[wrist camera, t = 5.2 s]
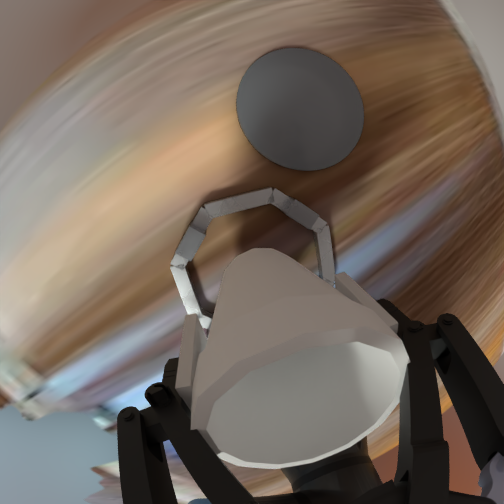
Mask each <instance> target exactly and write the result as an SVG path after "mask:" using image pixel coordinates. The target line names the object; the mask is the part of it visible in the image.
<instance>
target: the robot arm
mask: <svg viewBox="0 0 504 504" xmlns="http://www.w3.org/2000/svg"><path fill="white" fill-rule="evenodd" d="M334 277H335V286H336V289H337V290H338V291H339V292H341V293H342V294H344V295H345V296H346V297H348V298H349V299H350V300H352V301H354V302H357V303H359V304H361V305H363V306H365V307H367V308H370V309H372V310H373V311H374V312H375V313H376V314H377V315H378V316H379V317H380V318H381V319H382V320H383V321H384V322H385V323H386V324H387V325H388V326H389V327H390V328H391V329H392V330H393V331H394V333H395V334H396V335H397V336H398V337H399V338H400V339H401V340H402V342H403V344H404V347H405V349H406V352H407V354H408V357H409V359H410V363H408V364H407V367H406V372H405V377H404V381H403V386H402V390H401V394H400V430H399V452H398V464H397V471H396V474H395V478H394V482H393V480H390V481H388V482H386V483H384V484H383V483H382V481H381V479H380V477H379V475H378V473H377V471H376V469H375V467H374V465H373V463H372V461H371V459H370V457H369V455H368V446H367V436H365V437H364V438H362V439H361V440H360V441H358V442H357V443H355V444H354V445H352V446H351V447H349V448H347V449H345V450H343V451H340V452H338V453H336V454H333V455H331V456H328V457H326V458H323V459H321V460H318V461H316V462H313V463H308V464H303V465H297V466H291V467H285V468H280V469H281V470H282V472H283V473H284V474H285V476H286V477H287V478H288V480H289V481H290V483H291V486H292V489H293V493H288V494H281V495H272V496H262V497H253V496H252V495H251V494H250V493H249V492H248V491H247V490H246V489H245V488H244V486H243V485H242V484H241V483H240V482H239V481H238V480H237V479H236V477H235V476H234V475H233V474H232V473H231V472H230V470H229V469H228V468H227V467H226V466H225V464H224V463H223V462H222V461H221V459H220V458H219V457H218V456H217V454H216V453H215V452H214V451H213V449H212V448H211V447H210V446H209V444H208V443H207V442H206V440H205V439H204V438H203V437H202V435H201V434H200V433H199V431H198V430H197V429H194V430H191V406H192V388H193V382H194V377H195V372H196V367H197V362H198V358H199V354H200V353H201V352H202V351H203V350H204V349H205V348H206V344H207V338H206V335H205V333H204V331H203V328H202V326H201V323H200V321H199V318H198V315H197V313H193V314H189V315H186V316H185V322H184V328H183V334H182V341H181V348H180V355H179V357H178V358H173V359H169V360H168V362H167V363H166V365H165V368H164V374H163V379H162V382H158V383H155V384H152V385H151V386H149V387H148V388H147V390H146V391H145V398H146V399H147V401H148V402H149V404H150V405H151V407H148V408H146V409H143V410H140V411H139V410H138V409H137V408H136V407H132V406H131V407H126V408H124V409H123V410H121V411H120V413H119V414H118V417H117V435H118V456H119V471H120V482H121V490H122V498H123V504H178V502H177V499H176V495H175V492H174V488H173V484H172V480H171V476H170V472H169V468H168V464H167V459H166V454H165V450H164V445H163V441H166V440H170V442H171V443H172V445H173V447H174V448H175V450H176V452H177V454H178V455H179V457H180V459H181V460H182V462H183V463H184V465H185V467H186V468H187V470H188V471H189V473H190V474H191V476H192V477H193V479H194V480H195V482H196V483H197V485H198V486H199V488H200V489H201V490H202V492H203V493H204V495H205V496H206V497H207V499H194V500H192V501H190V502H189V503H188V504H504V384H503V382H502V381H501V379H500V378H499V376H498V374H497V373H496V371H495V370H494V368H493V367H492V365H491V364H490V362H489V361H488V359H487V358H486V356H485V355H484V353H483V352H482V350H481V349H480V347H479V346H478V345H477V343H476V342H475V340H474V339H473V338H472V336H471V335H470V334H469V332H468V331H467V330H466V328H465V327H464V326H463V324H462V323H461V322H460V320H459V319H458V318H457V317H456V316H455V315H453V314H448V313H446V314H442V315H440V316H439V317H438V319H437V323H434V324H430V325H424V324H423V323H422V322H420V321H411V320H410V319H409V318H408V317H407V316H405V315H404V314H403V313H402V312H401V311H400V310H398V308H397V307H395V306H394V305H393V304H392V303H391V302H390V301H388V300H385V299H383V298H382V299H380V300H377V301H375V300H374V299H373V298H372V297H371V296H370V295H369V294H368V293H367V292H366V291H365V290H364V289H362V288H361V287H360V286H359V285H358V284H357V283H356V282H355V281H354V280H353V279H352V278H351V277H349V276H348V275H347V274H346V273H345V272H342V273H339V274H336V275H334ZM434 366H435V367H434ZM435 368H436V370H437V372H438V374H439V376H440V378H441V380H442V382H443V384H444V386H445V388H446V390H447V392H448V395H449V397H450V399H451V401H452V403H453V406H454V408H455V410H456V412H457V415H458V417H459V419H460V422H461V424H462V427H463V429H464V432H465V434H466V437H467V439H468V442H469V445H470V448H471V451H472V453H473V456H474V458H475V461H476V463H477V465H478V467H479V468H480V470H481V473H480V477H479V482H478V484H479V486H480V487H482V494H481V496H475V495H469V494H464V493H459V492H454V491H450V490H449V446H448V442H447V441H445V440H444V438H443V426H442V415H441V406H440V398H439V391H438V384H437V378H436V372H435Z"/></svg>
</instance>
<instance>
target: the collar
mask: <svg viewBox="0 0 504 504" xmlns="http://www.w3.org/2000/svg"><path fill="white" fill-rule="evenodd" d="M270 203H271V204H273V205H274V206H276V207H278V208H279V210H280V211H282V212H283V213H284V214H286V215H287V216H289V217H290V218H292V219H294V220H295V221H297V222H298V223H300V224H301V225H303V226H304V227H306V228H308V229H309V230H311V229H312V230H313V234H314V240H315V247H316V253H317V260H318V267H319V274H320V278H321V279H322V280H324V281H325V282H327V283H328V284H329V285H331V286H332V287H333V286H334V284H335V283H334V281H335V277H334V275H335V269H334V260H333V252H332V244H331V237H330V230H329V225H327V222H325V221H324V220H323V219H321V218H320V217H319V216H320V215H318V214H317V213H315V212H314V211H313V210H311V209H310V208H308V207H307V206H305V205H304V204H302V203H301V202H299V201H298V200H296V199H294V198H292V197H290V196H287V195H285V194H283V193H282V192H280V191H279V190H277V189H276V188H271V187H265V188H261V189H257V190H253V191H249V192H245V193H241V194H237V195H233V196H229V197H225V198H221V199H218V200H214V201H210V202H206V203H205V204H204V205H205V206H203V205H202V206H201V208H200V210H199V211H198V213H197V215H196V217H195V218H194V220H192V221H191V223H190V225H189V227H188V229H187V230H186V232H185V234H184V236H183V238H182V240H181V241H180V243H179V245H178V248H177V250H176V252H175V255H174V257H173V259H172V261H171V266H170V268H171V271H172V274H173V276H174V279H175V282H176V285H177V287H178V290H179V292H180V295H181V298H182V300H183V303H184V305H185V308H186V310H187V313H188V315H189V314H193V313H197V315H198V318H199V321H200V323H201V326H202V327H204V328H206V329H207V336H206V337H207V338H208V336H209V331H210V327H211V323H212V319H213V315H214V313H213V314H212V313H210V312H208V311H206V310H204V309H202V307H201V304H200V302H199V299H198V296H197V293H196V290H195V288H194V285H193V282H192V279H191V276H190V273H189V270H188V267H187V265H186V264H187V262H188V260H189V261H192V259H193V257H194V255H195V253H196V252H197V250H198V248H199V246H200V245H201V243H202V241H203V239H204V238H205V236H206V230H207V227H208V225H209V223H210V222H211V220H212V218H215V217H219V216H223V215H226V214H230V213H234V212H238V211H242V210H246V209H250V208H254V207H258V206H262V205H266V204H270Z"/></svg>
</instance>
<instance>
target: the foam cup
mask: <svg viewBox="0 0 504 504" xmlns="http://www.w3.org/2000/svg"><path fill="white" fill-rule="evenodd" d="M408 363H410V359H409V357H408V354H407V352H406V349H405V347H404V344H403V342H402V340H401V339H400V338H399V337H398V336H397V335H396V334H395V333H394V331H393V330H392V329H391V328H390V327H389V326H388V325H387V324H386V323H385V322H384V321H383V320H382V319H381V318H380V317H379V316H378V315H377V314H376V313H375V312H374V311H373V310H372V309H370V308H367V307H365V306H363V305H361V304H359V303H357V302H354V301H352V300H350V299H349V298H348V297H346V296H345V295H344V294H342V293H341V292H339V291H338V290H337V289H335V288H334V287H332V286H331V285H329V284H328V283H327V282H325V281H324V280H322V279H321V278H320V277H318V276H317V275H315V274H314V273H313V272H311V271H310V270H308V269H307V268H305V267H304V266H303V265H301V264H300V263H298V262H297V261H295V260H294V259H293V258H291V257H289V256H288V255H286V254H284V253H282V252H279V251H277V250H275V249H273V248H253V249H251V250H249V251H247V252H244V253H242V254H240V255H238V256H236V257H235V258H234V260H233V261H232V262H231V263H230V264H229V266H228V267H227V268H226V269H225V271H224V274H223V278H222V282H221V286H220V290H219V294H218V298H217V302H216V306H215V310H214V315H213V319H212V323H211V327H210V331H209V336H208V340H207V344H206V348H205V349H204V350H203V351H202V352H201V353H200V354H199V358H198V362H197V367H196V372H195V377H194V382H193V388H192V406H191V430H194V429H197V430H198V431H199V433H200V434H201V435H202V437H203V438H204V439H205V440H206V442H207V443H208V444H209V446H210V447H211V448H212V449H213V451H214V452H215V453H216V454H217V456H218V457H219V458H220V459H222V460H225V461H227V462H229V463H232V464H234V465H237V466H243V467H253V468H266V469H278V468H285V467H291V466H297V465H303V464H308V463H313V462H316V461H318V460H321V459H323V458H326V457H328V456H331V455H333V454H336V453H338V452H340V451H343V450H345V449H347V448H349V447H351V446H352V445H354V444H355V443H357V442H358V441H360V440H361V439H362V438H364V437H365V436H367V435H368V434H369V433H371V432H372V431H373V430H375V429H376V428H377V427H379V426H380V425H381V424H382V423H383V422H384V421H385V420H386V418H387V417H388V416H389V415H390V413H391V412H392V411H393V410H394V408H395V407H396V406H397V404H398V403H399V402H400V394H401V390H402V386H403V381H404V377H405V372H406V367H407V364H408Z"/></svg>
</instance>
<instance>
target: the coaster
mask: <svg viewBox="0 0 504 504" xmlns="http://www.w3.org/2000/svg"><path fill="white" fill-rule="evenodd" d="M236 111H237V117H238V121H239V124H240V127H241V129H242V131H243V133H244V135H245V136H246V138H247V139H248V141H249V142H250V144H251V145H252V146H253V147H254V148H255V149H256V150H257V151H258V152H259V153H260V154H261V155H263V156H264V157H265V158H267V159H268V160H270V161H272V162H274V163H275V164H278V165H280V166H283V167H286V168H290V169H295V170H303V171H312V170H320V169H324V168H328V167H330V166H332V165H335V164H336V163H338V162H340V161H341V160H343V159H344V158H345V157H346V156H347V155H348V154H349V153H350V152H351V151H352V150H353V149H354V147H355V146H356V144H357V142H358V140H359V138H360V135H361V133H362V129H363V124H364V108H363V103H362V99H361V96H360V93H359V91H358V88H357V86H356V85H355V83H354V81H353V80H352V78H351V77H350V76H349V74H348V73H347V72H346V71H345V70H344V69H343V68H342V67H341V66H340V65H339V64H337V63H336V62H335V61H333V60H332V59H330V58H329V57H327V56H325V55H323V54H321V53H318V52H315V51H312V50H308V49H301V48H286V49H280V50H276V51H273V52H270V53H268V54H266V55H264V56H262V57H261V58H259V59H258V60H257V61H256V62H254V63H253V64H252V65H251V66H250V67H249V69H248V70H247V71H246V73H245V74H244V76H243V78H242V80H241V82H240V85H239V89H238V92H237V99H236Z"/></svg>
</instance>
